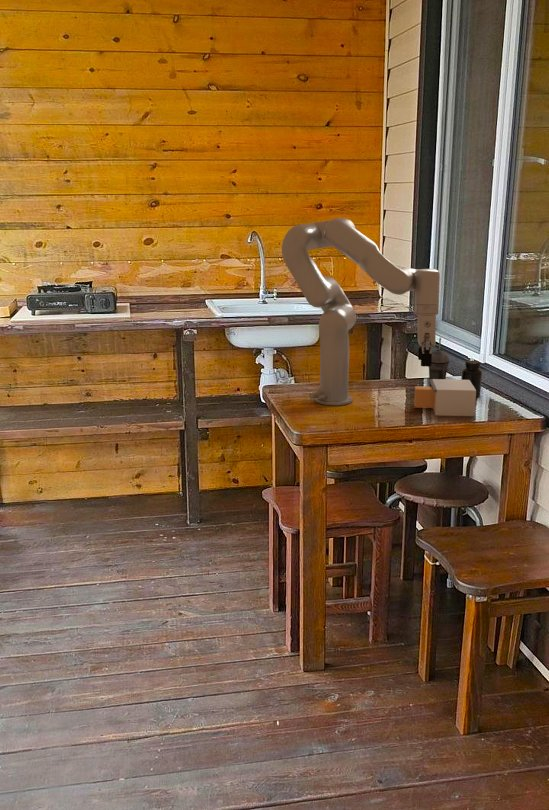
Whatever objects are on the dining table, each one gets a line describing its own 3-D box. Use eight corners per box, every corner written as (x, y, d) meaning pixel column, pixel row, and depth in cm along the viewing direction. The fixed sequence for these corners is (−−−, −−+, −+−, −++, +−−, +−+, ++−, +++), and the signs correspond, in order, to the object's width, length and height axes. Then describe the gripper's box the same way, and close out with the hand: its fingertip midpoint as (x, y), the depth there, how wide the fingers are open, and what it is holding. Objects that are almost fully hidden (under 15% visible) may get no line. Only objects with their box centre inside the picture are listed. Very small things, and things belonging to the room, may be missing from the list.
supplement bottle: (461, 398, 256) (463, 363, 253) (458, 392, 263) (461, 359, 259) (481, 398, 255) (484, 364, 252) (479, 393, 262) (481, 359, 259)
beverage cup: (445, 391, 265) (449, 335, 259) (448, 396, 258) (452, 339, 252) (424, 391, 265) (427, 335, 260) (426, 396, 258) (430, 338, 253)
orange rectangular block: (453, 408, 240) (454, 390, 238) (415, 407, 241) (415, 389, 240) (451, 404, 244) (452, 387, 242) (414, 404, 245) (414, 386, 243)
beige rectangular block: (474, 416, 235) (476, 390, 233) (432, 415, 236) (434, 389, 234) (467, 404, 248) (469, 379, 246) (428, 403, 250) (429, 379, 247)
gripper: (441, 313, 226) (439, 368, 230) (435, 305, 242) (433, 357, 247) (416, 313, 227) (414, 368, 231) (411, 305, 243) (410, 357, 248)
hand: (424, 362), depth 239 cm, fingers open, 9 cm apart
